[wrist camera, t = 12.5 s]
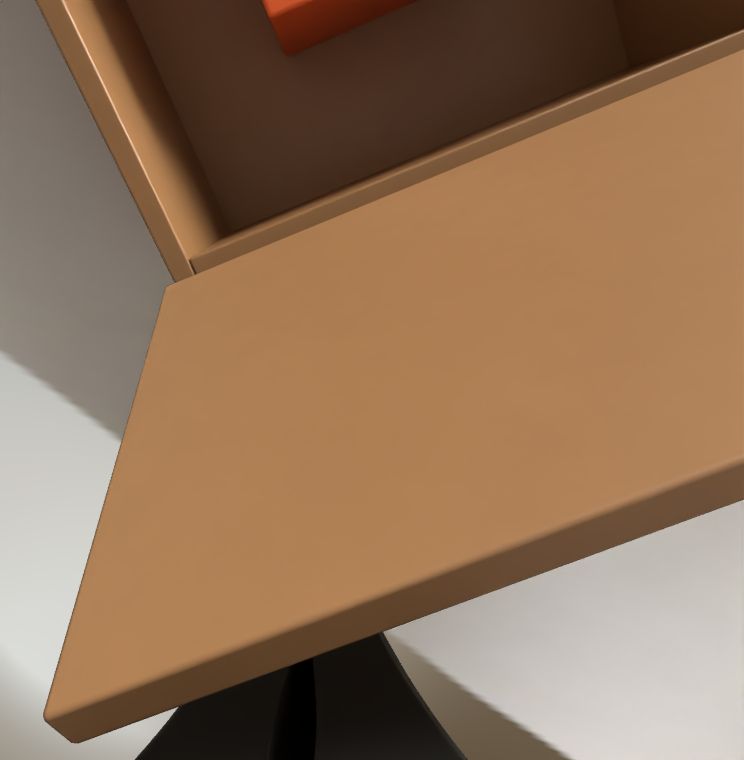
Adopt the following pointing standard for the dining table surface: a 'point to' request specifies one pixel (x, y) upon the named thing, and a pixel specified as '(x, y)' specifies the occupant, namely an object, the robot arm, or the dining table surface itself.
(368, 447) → the flap
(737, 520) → the dining table surface
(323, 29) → the block
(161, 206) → the box
